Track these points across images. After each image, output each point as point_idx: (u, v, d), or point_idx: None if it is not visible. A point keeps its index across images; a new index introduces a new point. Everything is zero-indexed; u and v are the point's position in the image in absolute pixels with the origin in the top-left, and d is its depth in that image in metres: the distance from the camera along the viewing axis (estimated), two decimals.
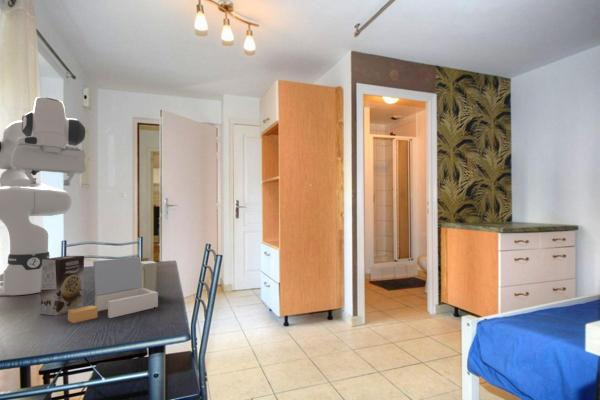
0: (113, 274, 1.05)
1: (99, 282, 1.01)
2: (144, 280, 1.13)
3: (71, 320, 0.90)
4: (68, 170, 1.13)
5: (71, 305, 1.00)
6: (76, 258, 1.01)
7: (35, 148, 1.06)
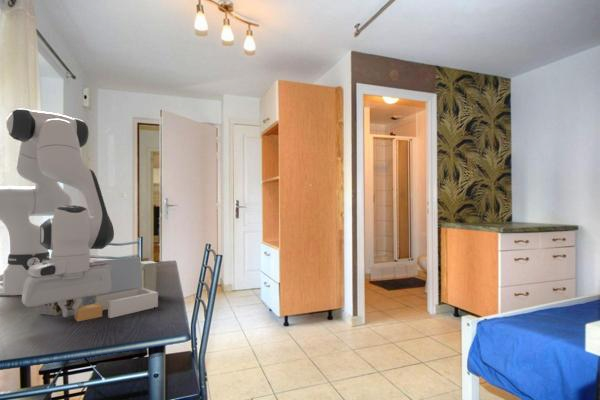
0: (113, 274, 1.05)
1: None
2: (144, 280, 1.13)
3: (76, 317, 0.91)
4: (91, 294, 0.93)
5: (71, 305, 1.00)
6: None
7: (53, 278, 0.85)
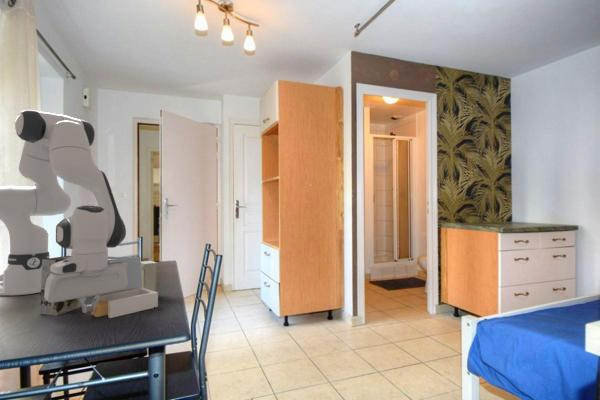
0: None
1: None
2: (144, 280, 1.13)
3: (95, 313, 0.95)
4: (109, 291, 0.97)
5: (71, 305, 1.00)
6: None
7: (74, 275, 0.89)
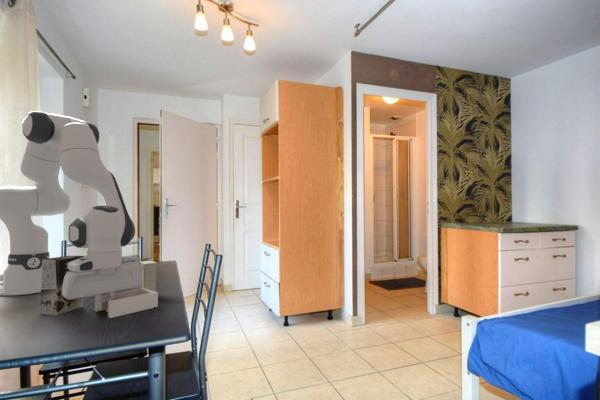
0: None
1: None
2: (144, 280, 1.13)
3: None
4: (123, 289, 1.00)
5: (71, 305, 1.00)
6: (76, 258, 1.01)
7: (90, 273, 0.92)
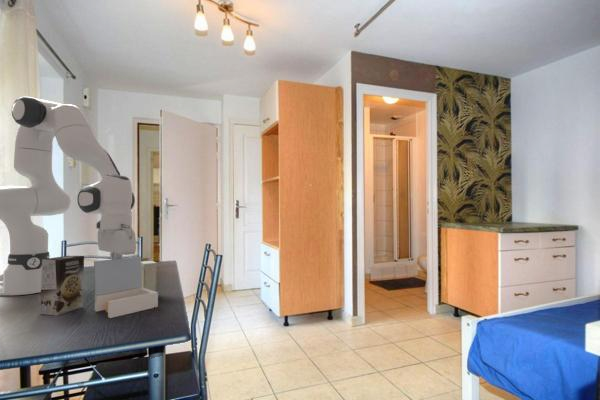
0: (113, 274, 1.04)
1: (99, 282, 1.01)
2: (144, 280, 1.13)
3: None
4: (117, 252, 1.04)
5: (71, 305, 1.00)
6: (76, 258, 1.01)
7: (101, 231, 1.09)
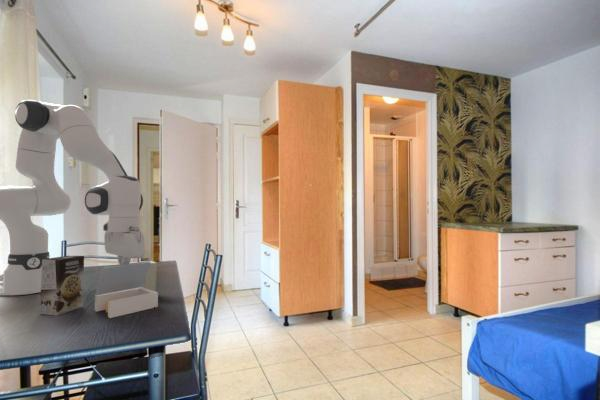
0: (118, 278, 1.02)
1: (102, 285, 0.99)
2: None
3: None
4: (125, 256, 1.00)
5: (71, 305, 1.00)
6: (76, 258, 1.01)
7: (108, 234, 1.05)
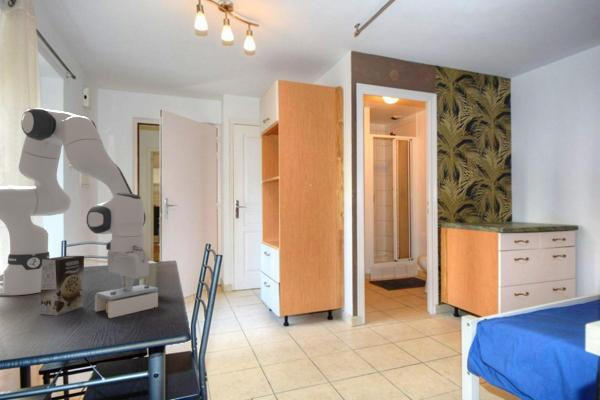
0: None
1: None
2: (144, 280, 1.13)
3: None
4: (129, 276, 0.98)
5: (71, 305, 1.00)
6: (76, 258, 1.01)
7: (111, 253, 1.03)
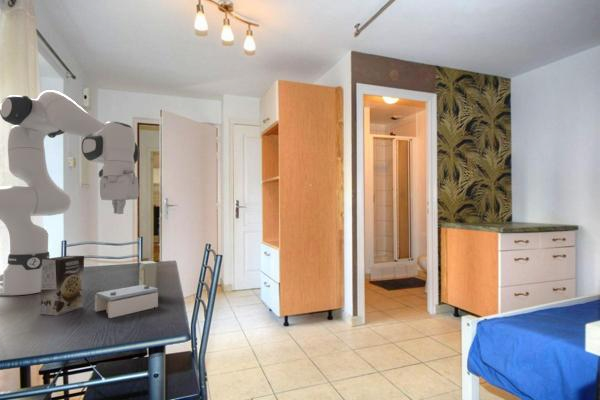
0: None
1: None
2: (144, 280, 1.13)
3: None
4: (120, 198, 1.03)
5: (71, 305, 1.00)
6: (76, 258, 1.01)
7: (103, 179, 1.08)
